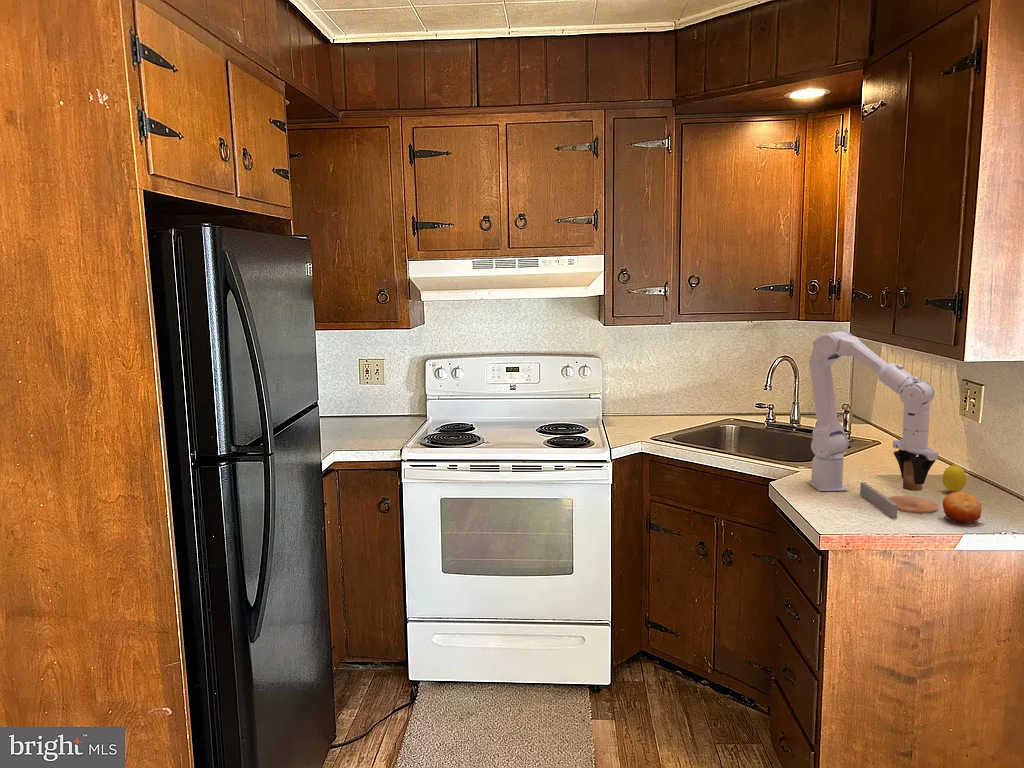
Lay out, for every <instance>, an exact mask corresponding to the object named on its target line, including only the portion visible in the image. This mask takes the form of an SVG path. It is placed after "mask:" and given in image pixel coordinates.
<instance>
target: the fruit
mask: <svg viewBox="0 0 1024 768" xmlns="http://www.w3.org/2000/svg"><path fill="white" fill-rule="evenodd" d="M942 509H943V513H944V514H945V515H944V518H945V517H947V519H948V520H950V521H951V522H954V523H955V524H958V523H960V525H961V524H970V523H975V522H977V521H978V520H980V519H981V516H982V511H983V510H982V504H981V502H980V501H979V500H978V498H976V497H975V496H973V495H972V494H969V493H967V492H964V491H957V492H954V493H952V492H951V493H949V494H947V495H946V496H945V497H944V498H942Z"/></svg>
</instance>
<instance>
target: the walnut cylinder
mask: <svg viewBox="0 0 1024 768" xmlns="http://www.w3.org/2000/svg"><path fill="white" fill-rule="evenodd" d="M902 489H904V490H907V491H910V492H920V491H922V490H923V484H915V482H914V469H913V464H912V461H911V460H905V461H904V472H903V479H902Z"/></svg>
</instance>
